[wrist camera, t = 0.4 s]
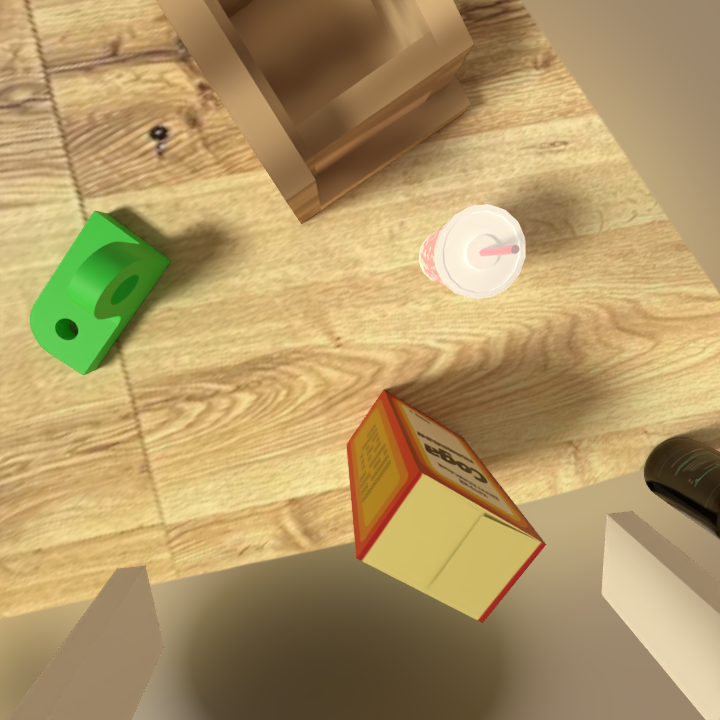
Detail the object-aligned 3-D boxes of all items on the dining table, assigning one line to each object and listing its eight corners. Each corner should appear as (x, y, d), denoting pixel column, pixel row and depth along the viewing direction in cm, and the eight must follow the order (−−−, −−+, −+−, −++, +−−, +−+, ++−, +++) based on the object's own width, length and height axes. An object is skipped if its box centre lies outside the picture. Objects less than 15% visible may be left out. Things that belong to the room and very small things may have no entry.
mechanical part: (108, 214, 33) (39, 197, 25) (172, 260, 34) (125, 258, 26) (33, 328, 35) (-53, 345, 27) (96, 369, 36) (31, 397, 28)
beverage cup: (491, 241, 35) (591, 224, 22) (456, 303, 36) (531, 324, 23) (431, 206, 34) (497, 166, 21) (397, 272, 35) (439, 274, 22)
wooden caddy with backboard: (162, 10, 30) (54, -155, 18) (341, -123, 29) (348, -389, 17) (301, 223, 34) (285, 200, 22) (462, 113, 33) (534, 28, 21)
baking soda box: (346, 444, 39) (356, 562, 23) (383, 389, 38) (420, 474, 22) (425, 489, 40) (484, 628, 25) (463, 438, 39) (549, 548, 24)
